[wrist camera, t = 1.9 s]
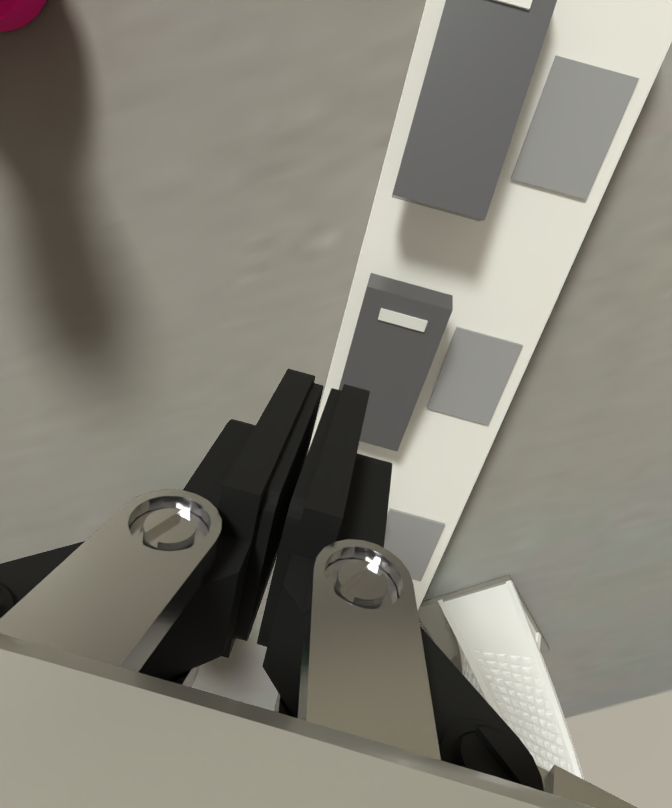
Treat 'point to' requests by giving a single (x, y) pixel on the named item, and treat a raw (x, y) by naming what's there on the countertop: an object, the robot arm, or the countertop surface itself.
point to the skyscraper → (504, 664)
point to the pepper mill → (18, 13)
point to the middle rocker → (394, 353)
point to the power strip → (498, 252)
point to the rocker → (471, 103)
